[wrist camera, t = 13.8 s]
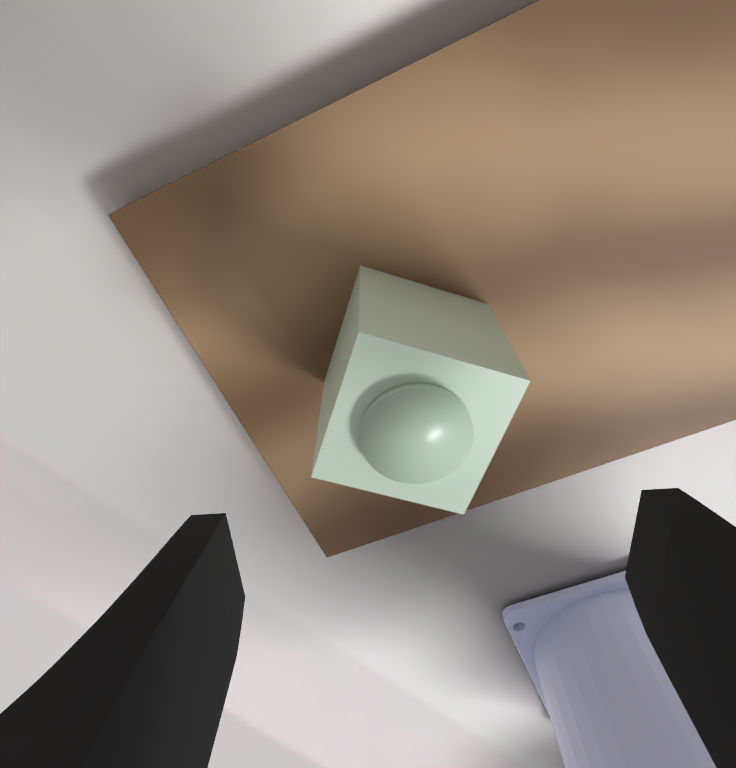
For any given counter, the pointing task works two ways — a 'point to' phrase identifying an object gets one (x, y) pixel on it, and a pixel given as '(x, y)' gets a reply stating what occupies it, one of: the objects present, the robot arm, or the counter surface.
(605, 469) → the counter surface
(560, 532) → the counter surface
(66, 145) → the counter surface
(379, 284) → the sage cube with dome
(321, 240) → the board
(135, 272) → the counter surface
